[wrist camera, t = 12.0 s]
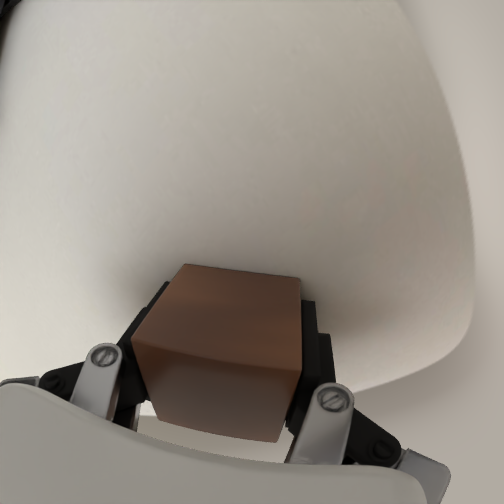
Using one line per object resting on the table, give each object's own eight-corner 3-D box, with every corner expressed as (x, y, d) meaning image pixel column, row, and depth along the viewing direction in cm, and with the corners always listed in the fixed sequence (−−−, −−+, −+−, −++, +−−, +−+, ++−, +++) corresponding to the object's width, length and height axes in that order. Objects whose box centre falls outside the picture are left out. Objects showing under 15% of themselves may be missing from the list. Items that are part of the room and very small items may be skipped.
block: (300, 277, 10) (302, 369, 6) (283, 359, 12) (277, 443, 8) (184, 262, 11) (128, 338, 7) (190, 345, 13) (157, 420, 8)
